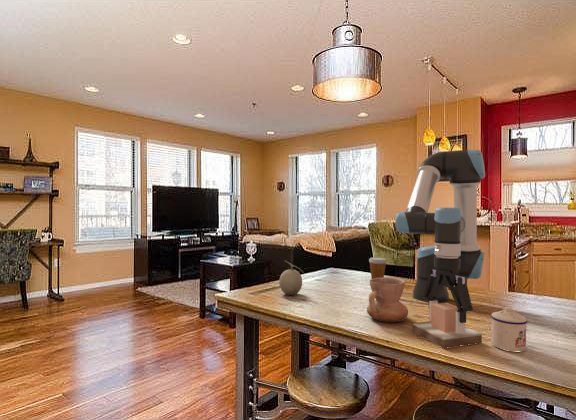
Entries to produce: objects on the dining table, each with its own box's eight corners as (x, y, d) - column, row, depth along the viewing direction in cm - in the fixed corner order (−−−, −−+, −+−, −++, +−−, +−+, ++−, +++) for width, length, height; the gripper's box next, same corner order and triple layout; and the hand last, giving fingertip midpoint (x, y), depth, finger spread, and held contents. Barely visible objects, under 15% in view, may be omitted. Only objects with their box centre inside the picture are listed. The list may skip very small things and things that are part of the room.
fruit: (301, 298, 157) (301, 264, 157) (276, 296, 160) (276, 263, 160) (306, 292, 167) (306, 261, 167) (283, 290, 170) (283, 259, 170)
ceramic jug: (387, 310, 140) (386, 274, 140) (418, 319, 128) (418, 280, 128) (354, 319, 130) (353, 280, 130) (385, 330, 118) (385, 288, 118)
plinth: (412, 332, 116) (412, 323, 116) (447, 327, 120) (447, 319, 120) (443, 348, 103) (443, 338, 103) (481, 343, 107) (481, 333, 107)
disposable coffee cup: (375, 277, 202) (375, 256, 202) (389, 280, 195) (390, 258, 194) (365, 279, 196) (365, 258, 196) (379, 282, 189) (379, 260, 188)
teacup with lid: (522, 356, 98) (523, 314, 98) (486, 346, 104) (487, 307, 104) (531, 344, 107) (532, 305, 106) (497, 336, 113) (498, 299, 113)
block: (431, 326, 113) (431, 304, 113) (446, 324, 115) (446, 302, 115) (444, 332, 108) (445, 309, 107) (460, 330, 109) (461, 308, 109)
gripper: (413, 252, 121) (412, 316, 121) (466, 263, 99) (465, 341, 99) (431, 251, 123) (430, 314, 124) (487, 261, 101) (486, 338, 101)
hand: (446, 326), depth 111 cm, fingers open, 11 cm apart
